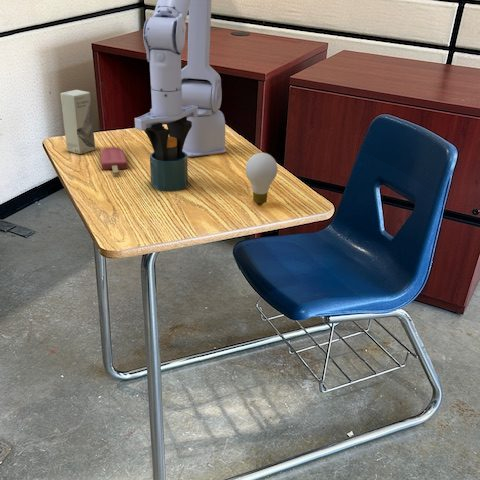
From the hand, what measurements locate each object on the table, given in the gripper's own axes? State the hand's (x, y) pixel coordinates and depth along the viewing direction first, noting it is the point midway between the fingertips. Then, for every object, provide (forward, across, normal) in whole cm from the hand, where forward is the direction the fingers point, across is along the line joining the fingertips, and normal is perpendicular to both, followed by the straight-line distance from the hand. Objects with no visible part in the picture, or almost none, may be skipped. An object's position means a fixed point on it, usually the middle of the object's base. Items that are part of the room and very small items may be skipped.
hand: (168, 159), depth 120 cm
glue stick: (+2, 0, 0) cm, 2 cm away
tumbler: (+5, 0, 0) cm, 5 cm away
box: (+5, 0, -30) cm, 30 cm away
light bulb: (+5, -5, +20) cm, 21 cm away
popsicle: (+5, +1, -17) cm, 18 cm away
